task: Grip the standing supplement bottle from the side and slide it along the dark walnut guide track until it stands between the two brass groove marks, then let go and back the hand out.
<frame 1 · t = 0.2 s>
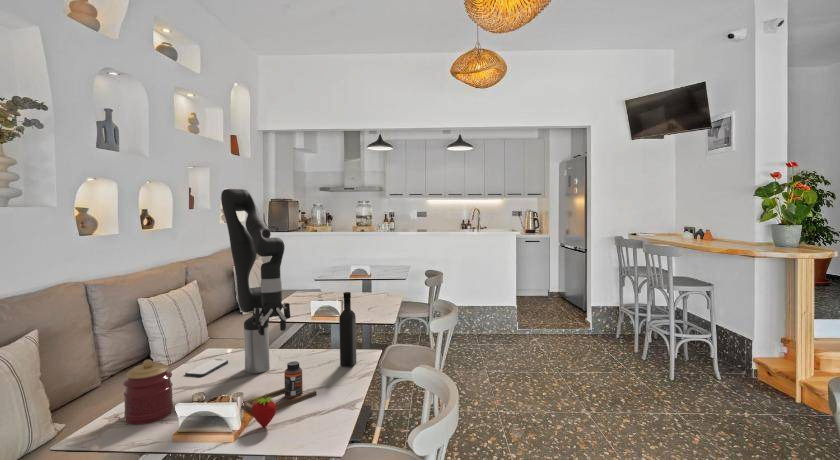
hand: (272, 332, 161), 18 cm above the table, tool pointing down, fingers open, 8 cm apart
wine bottle: (348, 364, 176), on the table
supplement bottle: (293, 395, 147), resting in walnut track
phone case: (207, 370, 173), on the table
walnut track: (280, 400, 143), on the table
canister: (149, 415, 133), on the table
strawberry: (264, 427, 125), on the table
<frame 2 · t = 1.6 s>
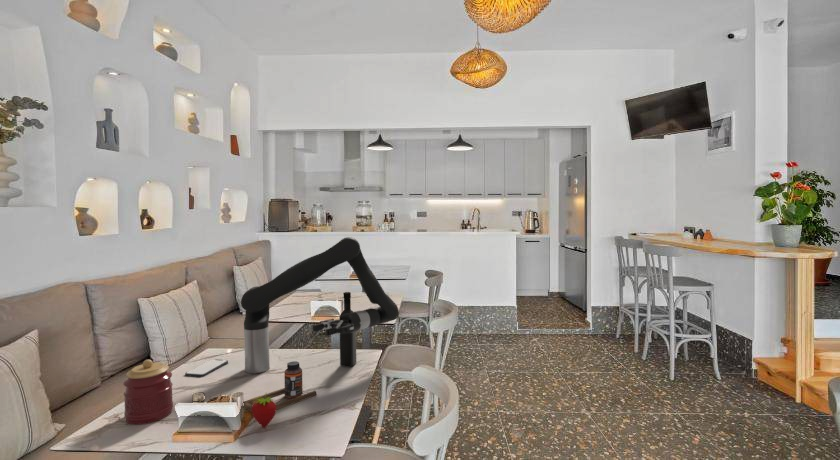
hand: (319, 330, 154), 20 cm above the table, tool horizontal, fingers open, 8 cm apart
nothing on the table moved.
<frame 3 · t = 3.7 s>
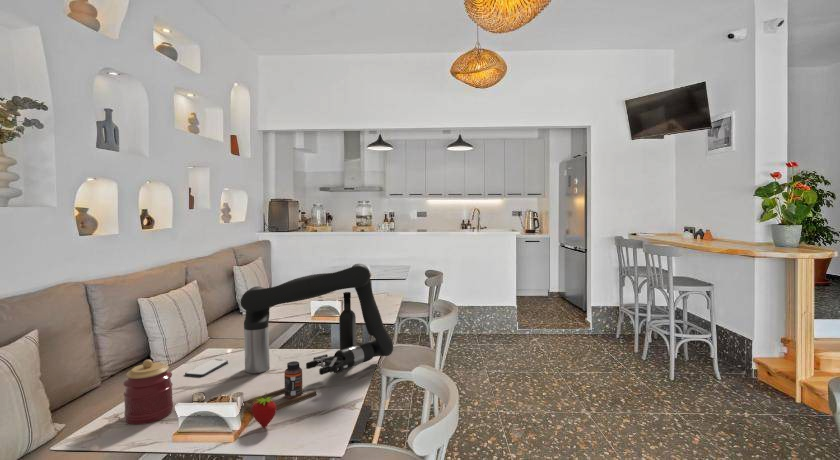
hand: (313, 368, 152), 7 cm above the table, tool horizontal, fingers open, 8 cm apart
nothing on the table moved.
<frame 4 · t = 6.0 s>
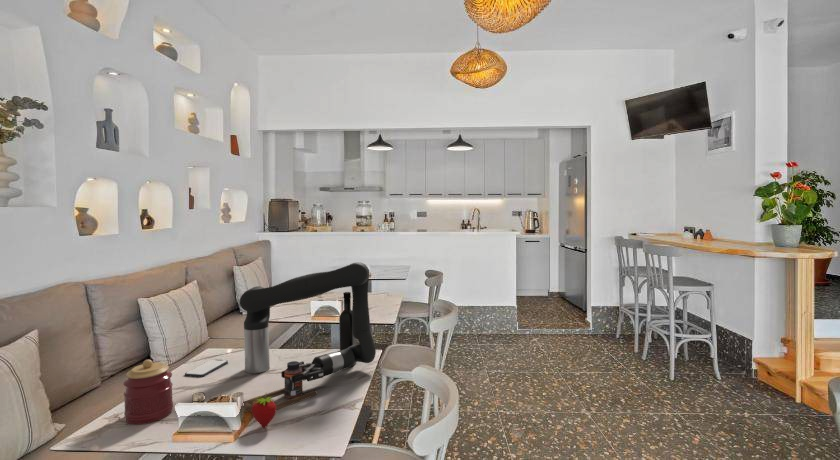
hand: (286, 377, 145), 7 cm above the table, tool horizontal, fingers closed on supplement bottle, 6 cm apart
supplement bottle: (293, 395, 147), resting in walnut track, touching gripper
everything else where it was.
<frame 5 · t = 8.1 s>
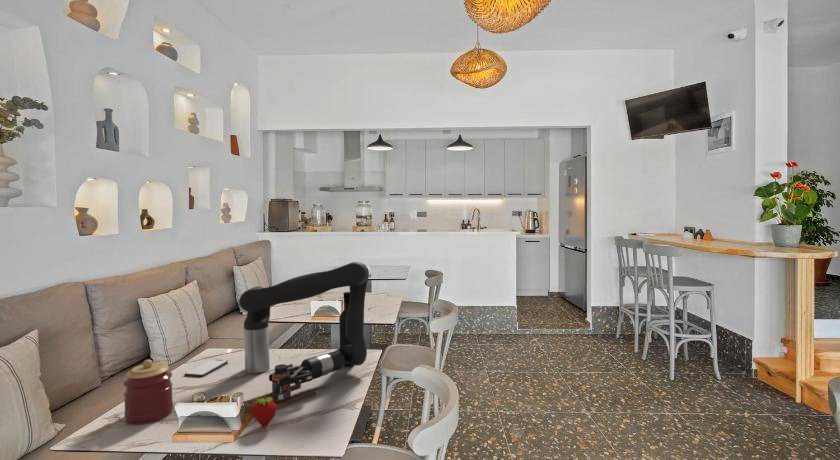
hand: (274, 380, 141), 7 cm above the table, tool horizontal, fingers closed on supplement bottle, 6 cm apart
supplement bottle: (281, 399, 143), resting in walnut track, touching gripper
everything else where it was.
when the fingers open (7 cm above the table, at t = 10.4 s): supplement bottle stays where it is, resting in walnut track.
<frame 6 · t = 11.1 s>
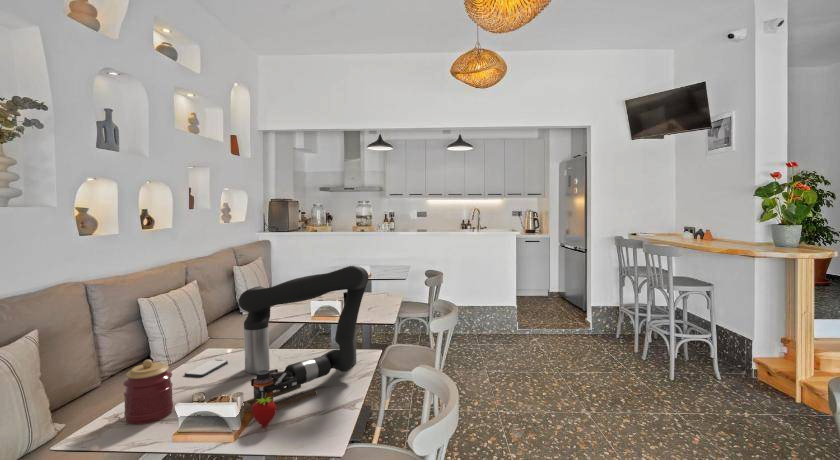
hand: (257, 386, 137), 7 cm above the table, tool horizontal, fingers open, 8 cm apart
supplement bottle: (263, 406, 139), resting in walnut track
everything else where it was.
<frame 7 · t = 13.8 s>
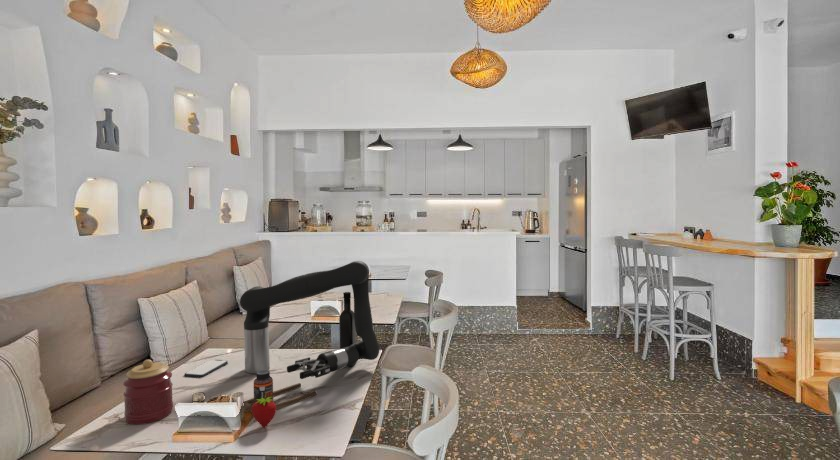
hand: (293, 372, 147), 8 cm above the table, tool horizontal, fingers open, 8 cm apart
nothing on the table moved.
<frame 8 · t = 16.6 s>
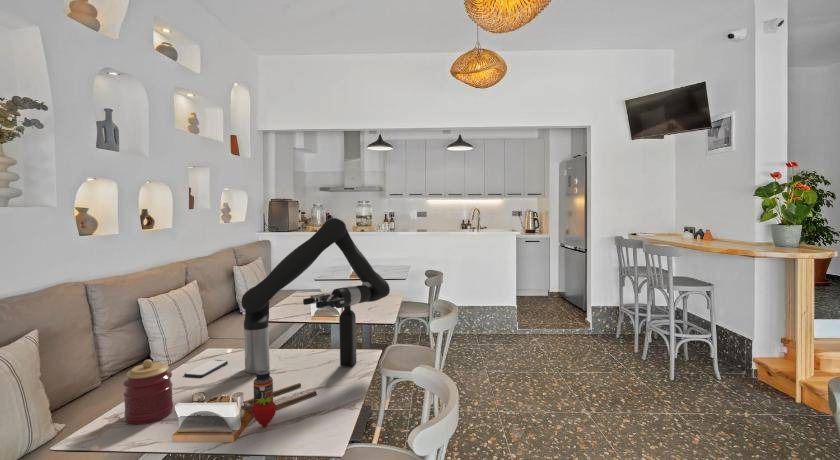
hand: (310, 303, 154), 30 cm above the table, tool horizontal, fingers open, 8 cm apart
nothing on the table moved.
at the end: supplement bottle 0.1 cm from the target spot on the walnut track, point 0.0 cm above the walnut track's base; supplement bottle tilted 0°; the gripper is holding nothing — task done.
